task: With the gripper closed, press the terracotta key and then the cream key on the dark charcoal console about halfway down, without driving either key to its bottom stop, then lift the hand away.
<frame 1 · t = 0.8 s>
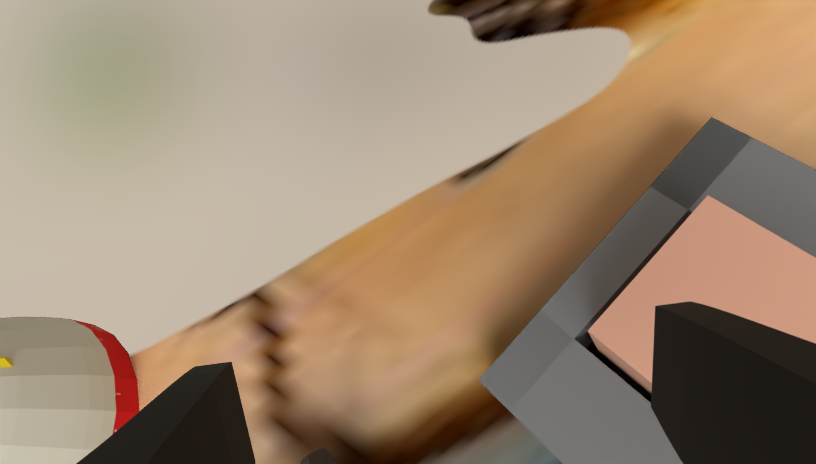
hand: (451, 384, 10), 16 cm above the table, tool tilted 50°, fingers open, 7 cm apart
kitchen timer: (53, 438, 35), on the table
terracotta key: (726, 334, 19), point 4 cm above the table, slide at 0.0 cm
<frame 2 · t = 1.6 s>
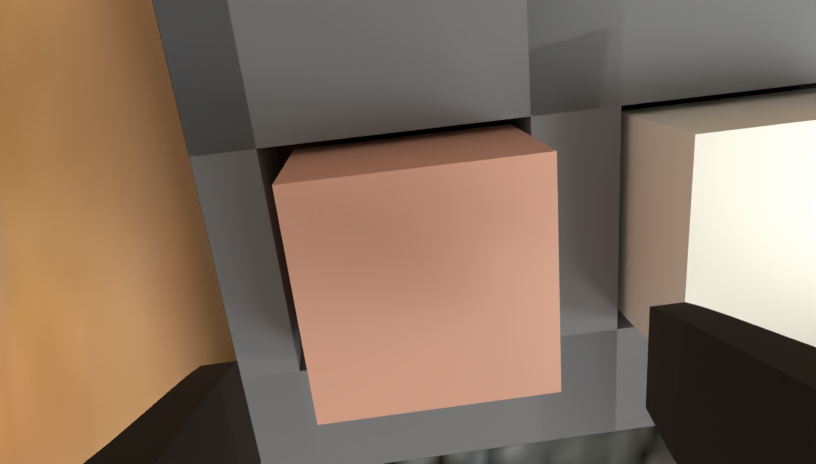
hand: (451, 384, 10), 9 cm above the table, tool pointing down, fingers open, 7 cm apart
key console: (544, 201, 19), on the table
cream key: (756, 221, 15), point 4 cm above the table, slide at 0.0 cm
terracotta key: (420, 264, 15), point 4 cm above the table, slide at 0.0 cm
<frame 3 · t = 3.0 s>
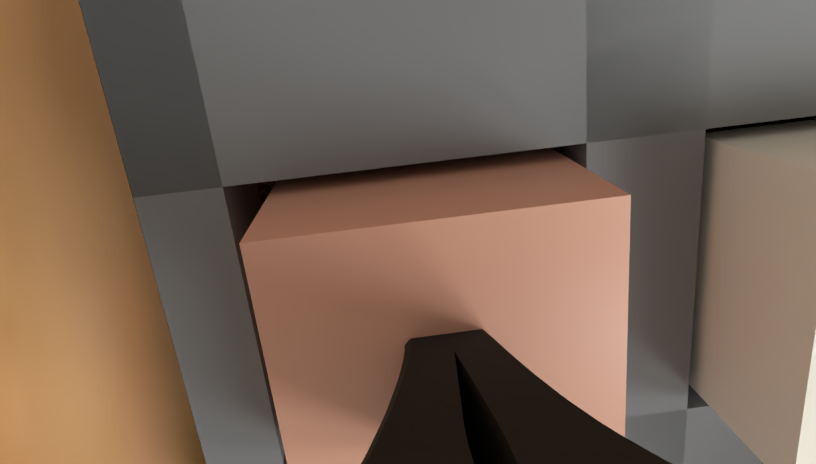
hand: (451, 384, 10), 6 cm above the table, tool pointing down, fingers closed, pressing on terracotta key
key console: (589, 241, 15), on the table
terracotta key: (438, 329, 12), point 4 cm above the table, slide at 0.4 cm, touching gripper
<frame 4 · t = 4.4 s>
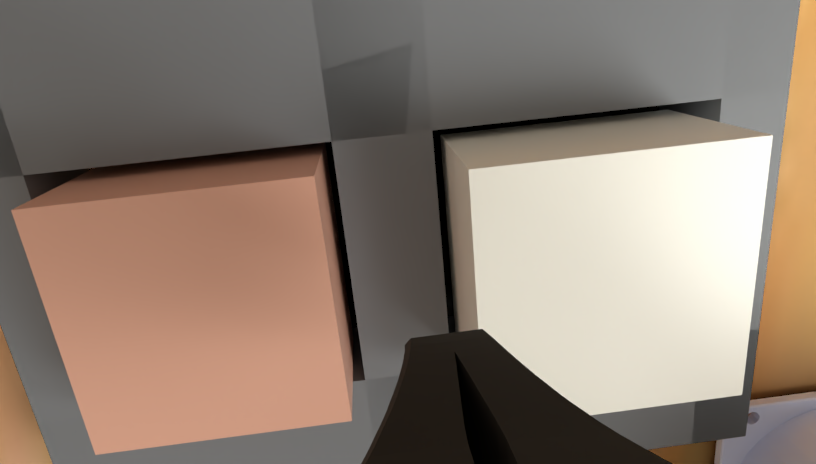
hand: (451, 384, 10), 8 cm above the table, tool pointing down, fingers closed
key console: (390, 226, 17), on the table
cream key: (582, 257, 14), point 4 cm above the table, slide at 0.0 cm
terracotta key: (218, 286, 14), point 3 cm above the table, slide at 0.9 cm
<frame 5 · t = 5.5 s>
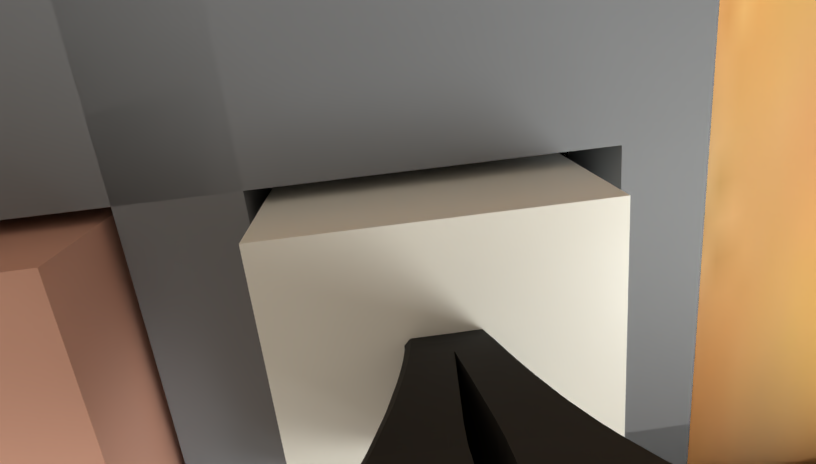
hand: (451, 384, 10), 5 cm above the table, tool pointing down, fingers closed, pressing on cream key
key console: (245, 292, 14), on the table
cream key: (438, 330, 12), point 3 cm above the table, slide at 0.9 cm, touching gripper
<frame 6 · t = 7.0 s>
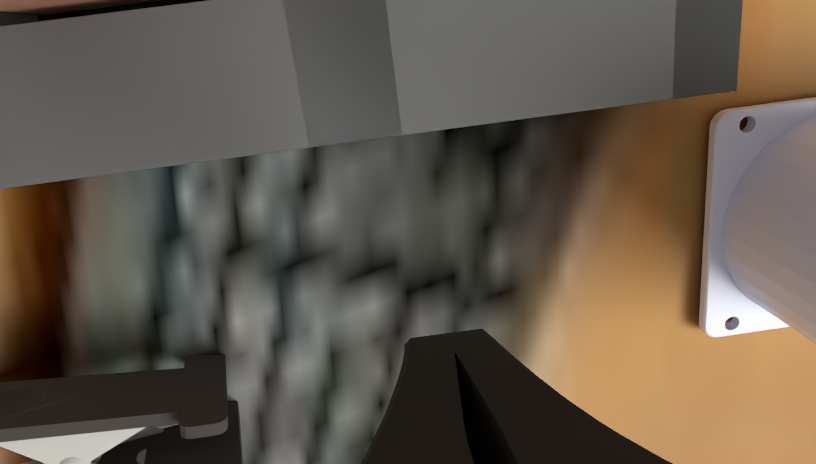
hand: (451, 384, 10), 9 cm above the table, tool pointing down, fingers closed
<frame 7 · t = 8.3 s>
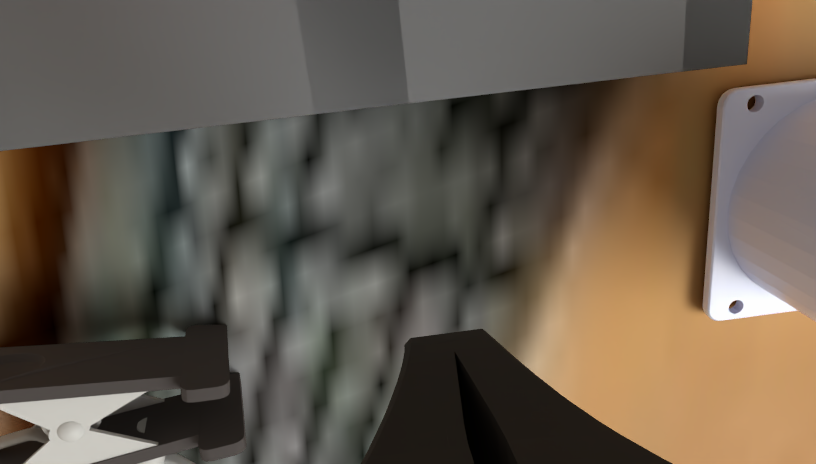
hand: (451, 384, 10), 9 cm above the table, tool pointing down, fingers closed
clip-on lamp: (269, 460, 22), on the table
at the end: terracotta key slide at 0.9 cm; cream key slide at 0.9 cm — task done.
